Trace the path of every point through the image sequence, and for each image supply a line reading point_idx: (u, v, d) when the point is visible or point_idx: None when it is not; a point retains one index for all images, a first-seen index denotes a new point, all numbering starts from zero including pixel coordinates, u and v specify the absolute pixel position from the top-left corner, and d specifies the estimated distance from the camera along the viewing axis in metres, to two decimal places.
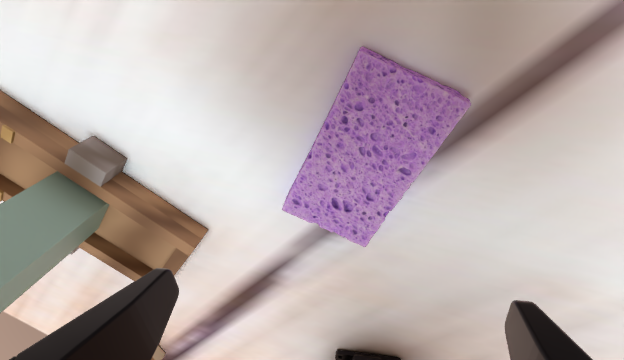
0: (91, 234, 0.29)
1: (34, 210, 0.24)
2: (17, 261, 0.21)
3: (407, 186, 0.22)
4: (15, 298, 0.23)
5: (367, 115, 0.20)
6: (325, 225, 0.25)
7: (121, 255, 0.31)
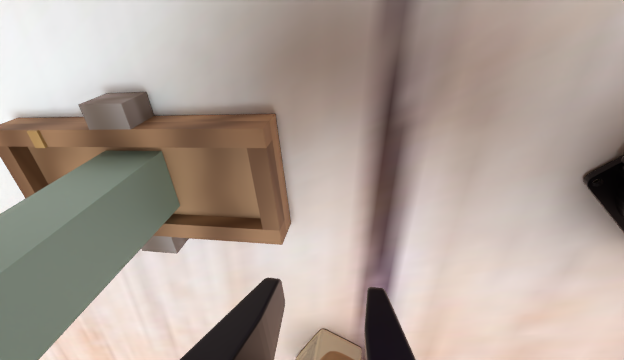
0: (173, 211, 0.24)
1: (76, 182, 0.19)
2: (56, 221, 0.16)
3: None
4: (99, 286, 0.18)
5: None
6: None
7: (217, 220, 0.24)
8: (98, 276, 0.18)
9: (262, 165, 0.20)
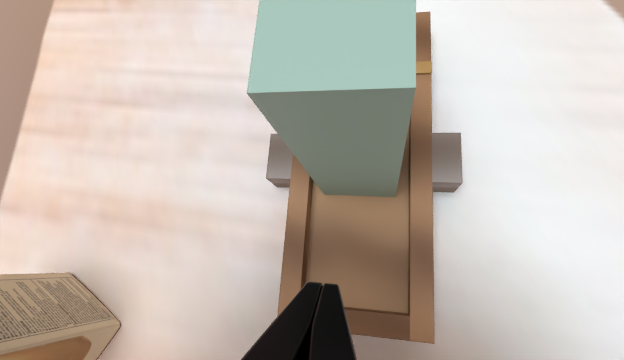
0: (323, 192, 0.21)
1: None
2: None
3: None
4: (300, 154, 0.14)
5: None
6: None
7: (306, 240, 0.20)
8: (314, 156, 0.14)
9: (387, 329, 0.18)
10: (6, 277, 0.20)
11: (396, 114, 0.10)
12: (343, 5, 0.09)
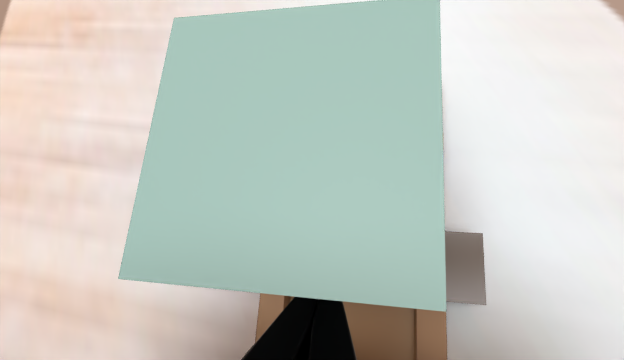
0: None
1: None
2: None
3: None
4: None
5: None
6: None
7: None
8: None
9: None
10: None
11: None
12: (304, 110, 0.05)
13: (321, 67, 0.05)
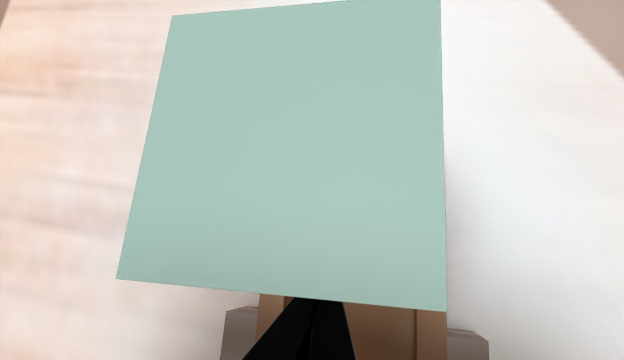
0: None
1: None
2: None
3: None
4: None
5: None
6: None
7: None
8: None
9: None
10: None
11: None
12: (303, 108, 0.05)
13: (320, 65, 0.05)
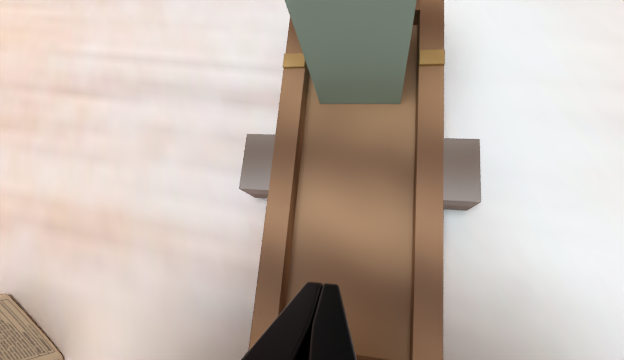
0: (319, 96, 0.18)
1: None
2: None
3: None
4: None
5: None
6: None
7: (287, 266, 0.17)
8: (308, 0, 0.11)
9: None
10: None
11: None
12: None
13: None
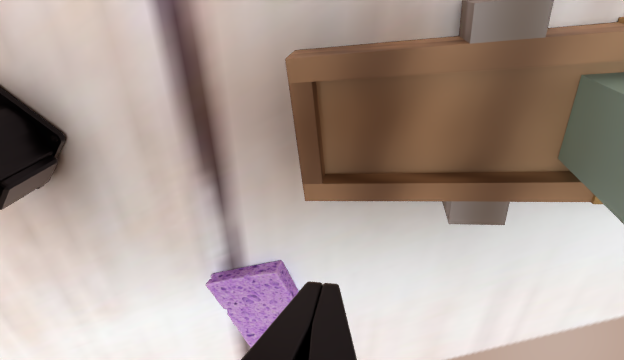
0: (590, 81, 0.15)
1: None
2: None
3: (239, 330, 0.31)
4: None
5: None
6: (241, 281, 0.27)
7: None
8: None
9: (307, 167, 0.19)
10: None
11: None
12: None
13: None
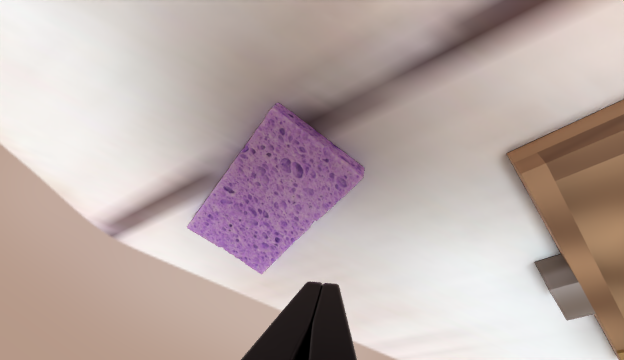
0: None
1: None
2: None
3: (225, 176, 0.22)
4: None
5: (259, 238, 0.25)
6: (315, 147, 0.20)
7: None
8: None
9: (574, 158, 0.16)
10: None
11: None
12: None
13: None
